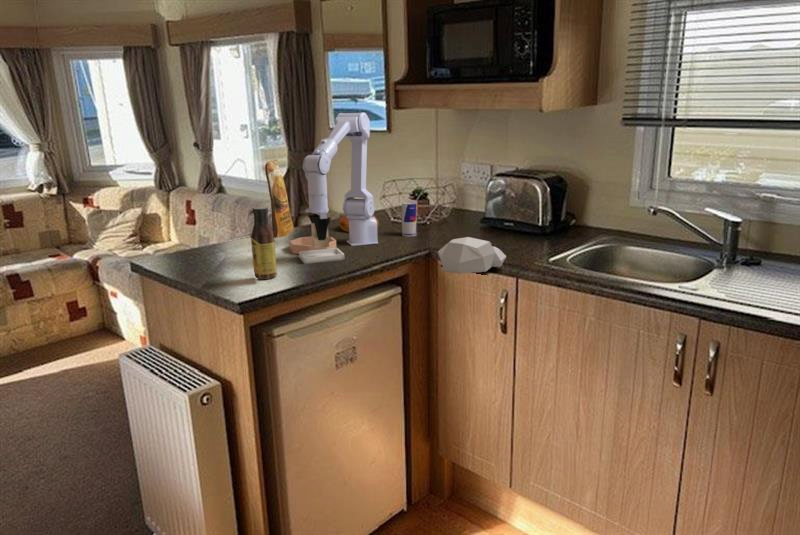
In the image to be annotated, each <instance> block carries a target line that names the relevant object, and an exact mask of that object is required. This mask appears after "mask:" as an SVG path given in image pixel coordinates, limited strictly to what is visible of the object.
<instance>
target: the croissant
mask: <svg viewBox="0 0 800 535" xmlns="http://www.w3.org/2000/svg"><path fill="white" fill-rule="evenodd" d="M371 217H375V219H376V222H377V230H378V229H379V226H380V223H379V222H380V221H379V220H378V218H377V216H375V215H374V214H373V215H372V216H371ZM337 224H339V228H340V229H341V230H342V231H343V232H346V233H349V218H347V216H346V215H345V214H344V215H343V216H342V217H341V218H340V220H339V221H338V223H337Z"/></svg>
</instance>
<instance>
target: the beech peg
mask: <svg viewBox="0 0 800 535" xmlns="http://www.w3.org/2000/svg"><path fill="white" fill-rule="evenodd" d="M310 225H311V227H310V228H311V229H310V230H311V236H312V245H313V246H314V247H315V248H320V247H329V237H330V236H329V227H328V228H327V234H326V239H325V240H318V236H317V232H316V227H315V224H314V223H311V222H310Z"/></svg>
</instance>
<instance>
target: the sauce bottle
mask: <svg viewBox="0 0 800 535" xmlns="http://www.w3.org/2000/svg"><path fill="white" fill-rule="evenodd" d="M268 208H269V207H267V206H263V205H262V206H253V207H252V213H253V227H252V231H251V233H250V242H251V254H252V263H253V264H252V266H253V273H254V277H255V279H258V280H272V279H274V278H276V277H277V275H278V273H277V272H278V271H277V270H278V269H277V256H276V244H275V239H274V238H275V237H274V233H273V228H272V226H271V225H270V223H269V216H268V214H269V209H268Z"/></svg>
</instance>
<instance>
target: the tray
mask: <svg viewBox="0 0 800 535" xmlns="http://www.w3.org/2000/svg"><path fill="white" fill-rule="evenodd" d="M345 256H346V255H345V253H344V252H342V250H340V248H338V247H337V248H332V249H322V250H311V251H300V252H299V254H298V258H299V259H300V260H301V262H302V263H303V264H304V265H307V264H309V265H310V264H317V263H318V264H319V263H327V262H329V263H330V262H338V261H345V260H346V259H345V258H346V257H345Z"/></svg>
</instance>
